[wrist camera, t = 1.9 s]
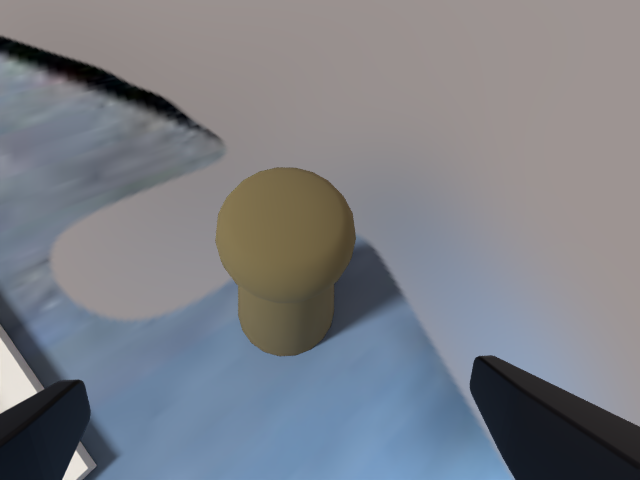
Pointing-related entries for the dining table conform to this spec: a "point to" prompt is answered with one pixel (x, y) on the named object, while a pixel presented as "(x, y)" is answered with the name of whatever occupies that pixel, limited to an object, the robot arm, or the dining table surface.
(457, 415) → the dining table surface
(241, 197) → the cork
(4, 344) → the dock plate
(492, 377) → the robot arm
